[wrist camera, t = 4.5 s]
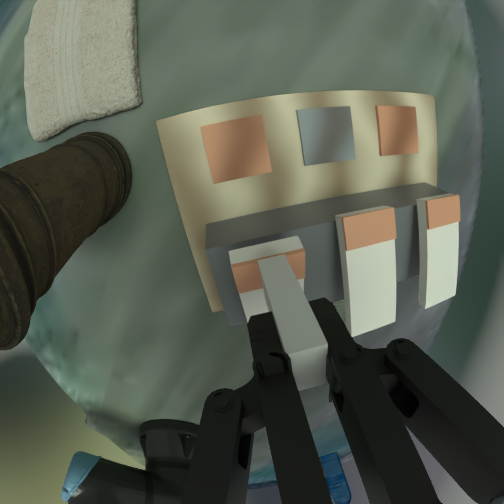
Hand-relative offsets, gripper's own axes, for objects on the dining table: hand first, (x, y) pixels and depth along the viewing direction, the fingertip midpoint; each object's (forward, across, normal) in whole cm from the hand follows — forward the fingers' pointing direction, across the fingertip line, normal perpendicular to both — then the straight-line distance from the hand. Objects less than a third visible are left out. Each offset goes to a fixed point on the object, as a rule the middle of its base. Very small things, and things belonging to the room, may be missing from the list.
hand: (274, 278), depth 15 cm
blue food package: (+12, +10, -90) cm, 91 cm away
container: (+12, -14, +7) cm, 20 cm away
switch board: (+12, +8, 0) cm, 14 cm away
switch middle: (+5, +8, -4) cm, 10 cm away
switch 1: (+5, 0, -4) cm, 6 cm away
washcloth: (+13, -12, +21) cm, 27 cm away
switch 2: (+5, +16, -4) cm, 17 cm away
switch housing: (+11, +8, -4) cm, 14 cm away
